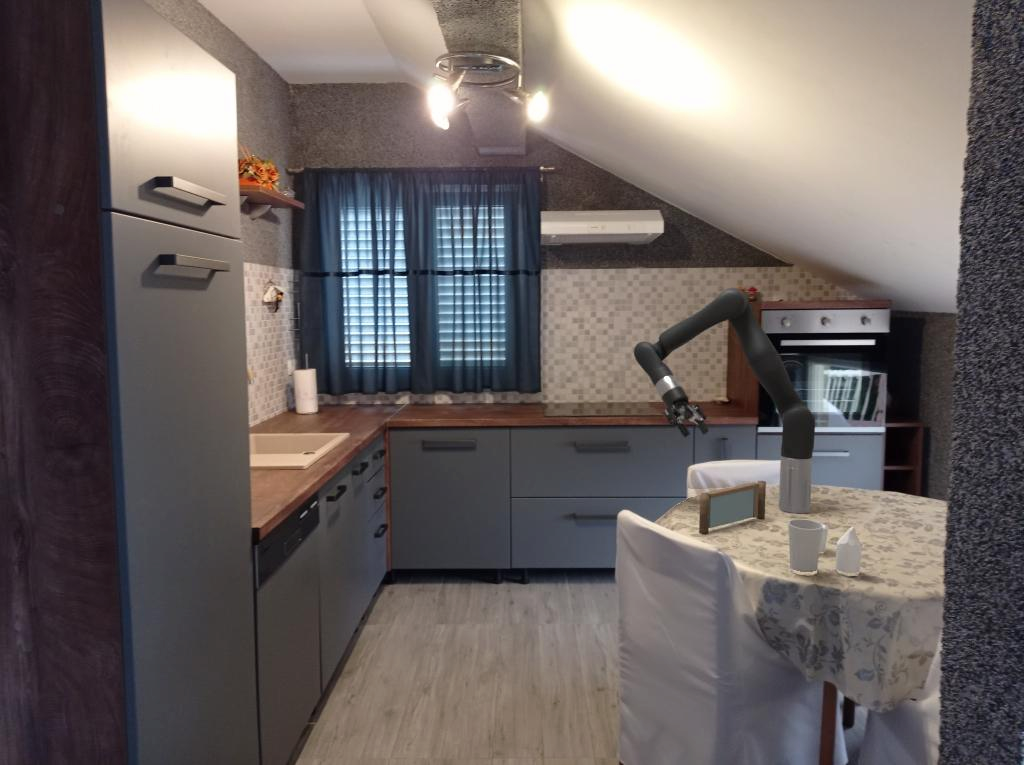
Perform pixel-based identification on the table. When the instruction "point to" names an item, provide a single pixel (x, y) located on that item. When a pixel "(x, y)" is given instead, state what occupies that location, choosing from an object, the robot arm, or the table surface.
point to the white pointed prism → (849, 552)
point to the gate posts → (705, 508)
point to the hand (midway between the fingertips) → (696, 434)
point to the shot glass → (823, 538)
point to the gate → (733, 504)
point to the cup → (804, 544)
